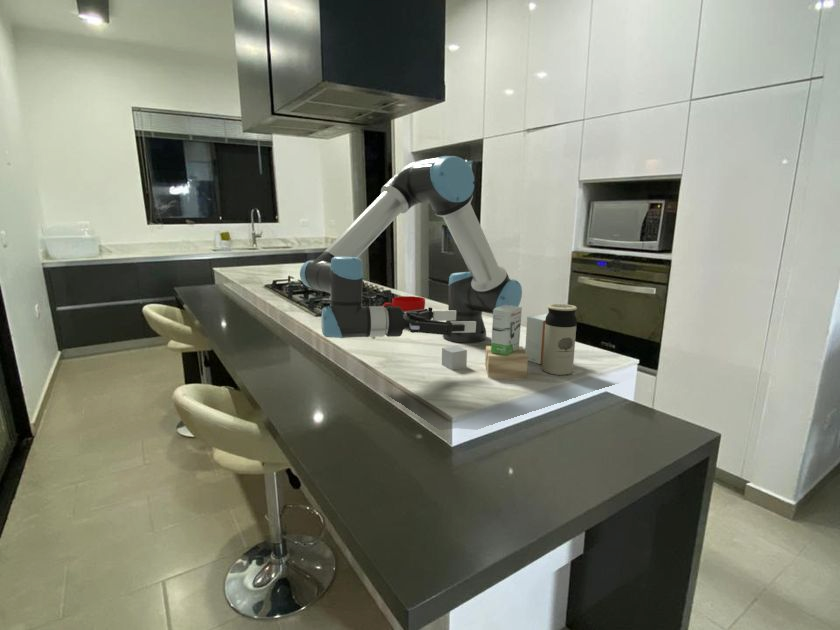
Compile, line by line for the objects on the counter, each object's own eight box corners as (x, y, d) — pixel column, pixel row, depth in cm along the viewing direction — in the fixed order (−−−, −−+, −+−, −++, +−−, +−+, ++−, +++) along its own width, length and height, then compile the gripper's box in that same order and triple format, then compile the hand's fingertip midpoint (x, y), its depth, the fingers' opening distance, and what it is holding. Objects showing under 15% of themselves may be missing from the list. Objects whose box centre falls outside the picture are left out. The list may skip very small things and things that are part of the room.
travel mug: (540, 365, 127) (544, 303, 123) (569, 366, 126) (573, 303, 122) (544, 375, 119) (549, 308, 115) (575, 376, 118) (581, 309, 114)
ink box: (507, 356, 116) (509, 311, 113) (489, 352, 119) (492, 309, 116) (519, 348, 123) (522, 306, 120) (503, 345, 126) (505, 304, 123)
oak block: (485, 366, 127) (485, 345, 126) (520, 367, 126) (521, 346, 125) (487, 378, 117) (488, 356, 116) (526, 379, 116) (527, 357, 115)
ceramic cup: (379, 322, 180) (379, 297, 178) (419, 319, 185) (419, 295, 183) (386, 329, 168) (386, 303, 166) (429, 326, 173) (429, 301, 171)
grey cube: (441, 365, 127) (442, 348, 126) (456, 362, 129) (456, 345, 128) (451, 370, 123) (452, 352, 122) (466, 367, 125) (466, 350, 124)
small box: (540, 365, 127) (543, 320, 125) (524, 359, 132) (526, 316, 130) (559, 360, 132) (562, 317, 129) (542, 355, 137) (545, 313, 134)
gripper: (375, 325, 123) (447, 324, 129) (396, 350, 100) (483, 347, 106) (376, 298, 122) (449, 298, 128) (397, 317, 98) (486, 316, 105)
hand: (465, 320), depth 117 cm, fingers open, 13 cm apart
